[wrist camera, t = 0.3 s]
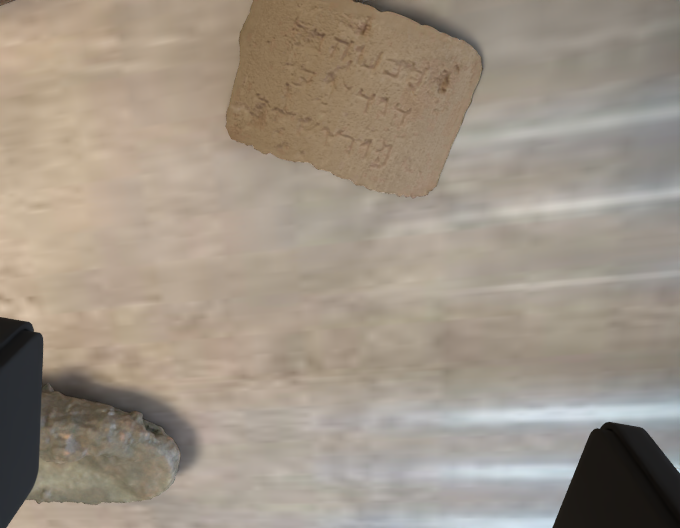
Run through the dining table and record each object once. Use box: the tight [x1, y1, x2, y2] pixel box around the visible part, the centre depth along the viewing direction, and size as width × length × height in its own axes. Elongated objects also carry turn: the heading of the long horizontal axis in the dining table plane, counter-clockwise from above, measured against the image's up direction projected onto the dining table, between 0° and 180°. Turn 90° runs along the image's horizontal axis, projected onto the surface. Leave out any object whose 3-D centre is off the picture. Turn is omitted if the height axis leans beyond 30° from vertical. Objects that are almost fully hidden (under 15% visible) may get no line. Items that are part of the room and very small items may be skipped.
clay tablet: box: [226, 0, 483, 198], centre depth 37 cm, size 14×10×3 cm
